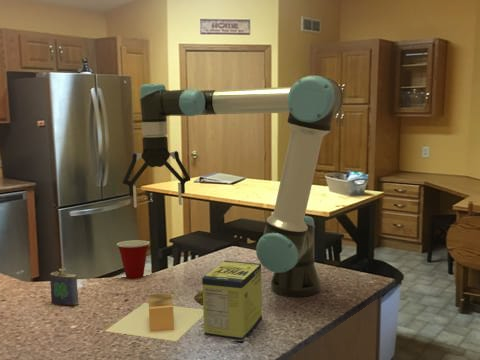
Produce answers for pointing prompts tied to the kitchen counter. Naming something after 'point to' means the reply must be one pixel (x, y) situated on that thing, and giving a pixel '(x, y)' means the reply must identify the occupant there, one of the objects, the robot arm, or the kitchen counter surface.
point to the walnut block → (161, 312)
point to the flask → (64, 288)
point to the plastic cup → (133, 257)
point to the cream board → (140, 323)
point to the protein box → (232, 300)
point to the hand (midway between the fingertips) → (158, 205)
